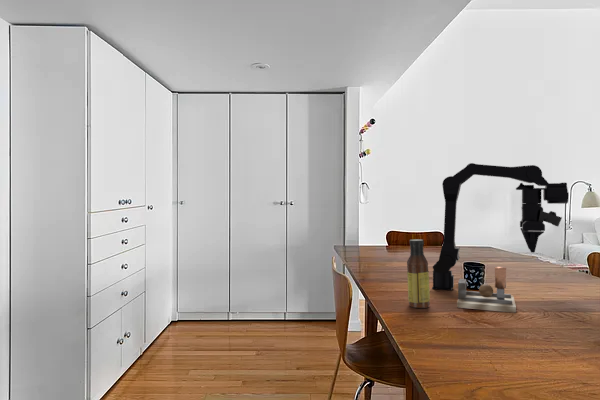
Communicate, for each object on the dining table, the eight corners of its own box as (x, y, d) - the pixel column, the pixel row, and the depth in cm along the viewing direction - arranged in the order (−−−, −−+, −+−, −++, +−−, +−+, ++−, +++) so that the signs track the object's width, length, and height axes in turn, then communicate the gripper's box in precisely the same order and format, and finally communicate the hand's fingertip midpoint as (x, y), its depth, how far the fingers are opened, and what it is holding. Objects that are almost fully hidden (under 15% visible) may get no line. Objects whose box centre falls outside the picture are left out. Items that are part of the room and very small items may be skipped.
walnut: (478, 298, 134) (478, 284, 134) (479, 295, 138) (479, 282, 138) (493, 299, 133) (493, 285, 133) (493, 296, 136) (493, 283, 136)
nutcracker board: (457, 307, 131) (457, 285, 131) (460, 296, 146) (460, 276, 146) (515, 312, 125) (515, 289, 125) (513, 300, 140) (513, 279, 140)
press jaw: (494, 300, 132) (494, 268, 132) (494, 296, 137) (494, 265, 137) (506, 301, 130) (506, 269, 130) (506, 297, 136) (506, 266, 136)
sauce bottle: (430, 304, 134) (430, 239, 134) (429, 309, 128) (429, 241, 128) (408, 303, 137) (408, 238, 136) (406, 308, 131) (405, 240, 131)
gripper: (563, 204, 135) (563, 255, 135) (556, 203, 152) (556, 248, 152) (522, 204, 140) (522, 253, 140) (519, 203, 157) (519, 247, 157)
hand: (531, 250), depth 147 cm, fingers open, 9 cm apart
